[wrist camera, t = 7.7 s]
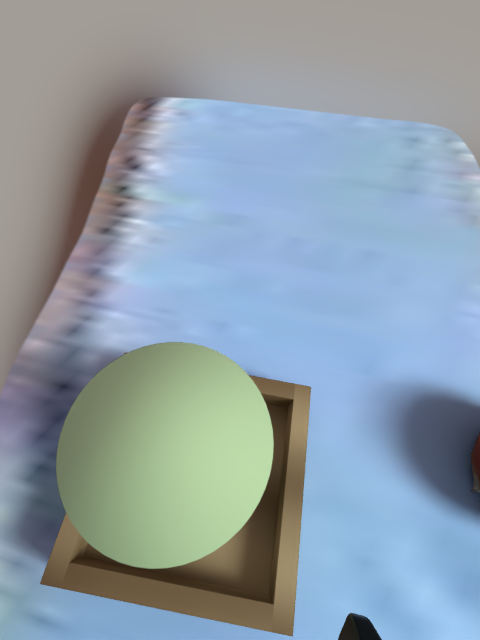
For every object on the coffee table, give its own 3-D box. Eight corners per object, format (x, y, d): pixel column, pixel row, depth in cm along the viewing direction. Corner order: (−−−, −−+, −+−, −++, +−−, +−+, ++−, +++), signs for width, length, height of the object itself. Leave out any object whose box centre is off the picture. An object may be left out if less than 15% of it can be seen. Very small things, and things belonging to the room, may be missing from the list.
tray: (281, 618, 18) (292, 636, 16) (64, 573, 19) (39, 584, 16) (300, 399, 24) (310, 386, 21) (134, 369, 24) (124, 352, 22)
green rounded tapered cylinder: (234, 539, 19) (257, 592, 8) (136, 519, 19) (14, 542, 8) (249, 436, 22) (284, 360, 10) (163, 419, 22) (103, 327, 10)
